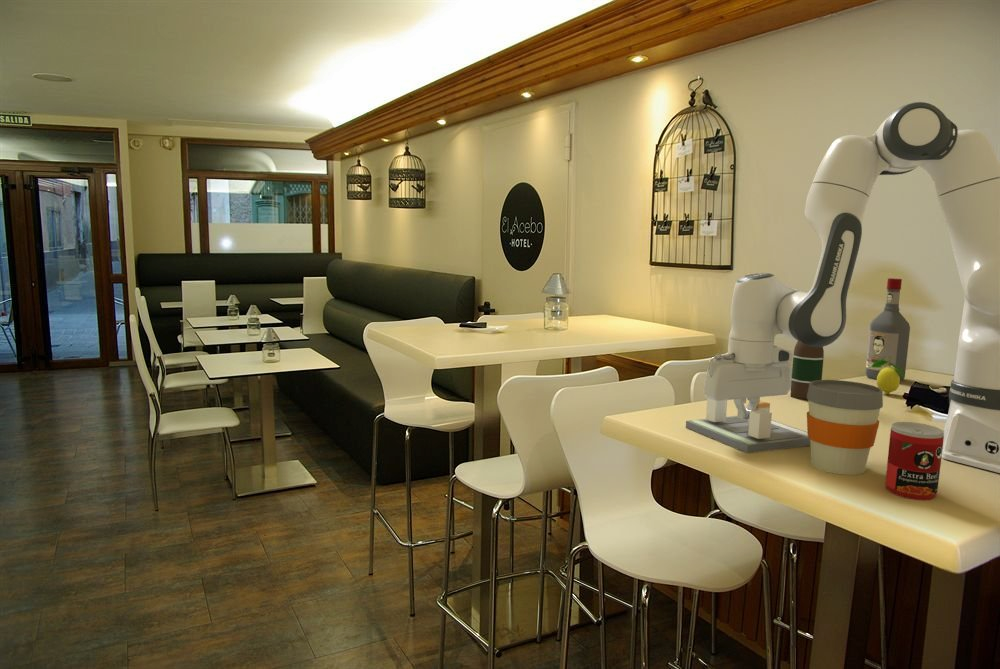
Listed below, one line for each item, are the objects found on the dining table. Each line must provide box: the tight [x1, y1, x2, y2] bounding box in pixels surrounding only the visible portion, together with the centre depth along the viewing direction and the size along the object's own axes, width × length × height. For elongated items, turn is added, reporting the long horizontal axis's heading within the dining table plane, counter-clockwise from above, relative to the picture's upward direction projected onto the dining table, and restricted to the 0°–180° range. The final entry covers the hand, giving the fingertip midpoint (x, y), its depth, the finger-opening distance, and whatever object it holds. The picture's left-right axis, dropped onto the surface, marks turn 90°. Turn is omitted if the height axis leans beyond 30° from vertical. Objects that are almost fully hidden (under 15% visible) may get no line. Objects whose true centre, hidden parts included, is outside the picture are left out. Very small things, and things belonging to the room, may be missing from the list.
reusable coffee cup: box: [806, 379, 884, 476], centre depth 133 cm, size 12×13×15 cm
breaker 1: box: [705, 398, 728, 422], centre depth 157 cm, size 3×3×5 cm
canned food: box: [884, 421, 944, 501], centre depth 121 cm, size 8×8×11 cm
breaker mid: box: [748, 399, 771, 425], centre depth 153 cm, size 3×3×5 cm
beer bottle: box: [790, 340, 825, 401], centre depth 189 cm, size 8×8×24 cm
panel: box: [685, 415, 811, 454], centre depth 153 cm, size 19×19×2 cm
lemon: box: [871, 358, 906, 395], centre depth 196 cm, size 7×6×10 cm
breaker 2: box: [748, 410, 773, 439], centre depth 145 cm, size 3×3×5 cm
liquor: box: [864, 277, 911, 381], centre depth 217 cm, size 9×9×30 cm
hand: (745, 418), depth 151 cm, fingers closed
